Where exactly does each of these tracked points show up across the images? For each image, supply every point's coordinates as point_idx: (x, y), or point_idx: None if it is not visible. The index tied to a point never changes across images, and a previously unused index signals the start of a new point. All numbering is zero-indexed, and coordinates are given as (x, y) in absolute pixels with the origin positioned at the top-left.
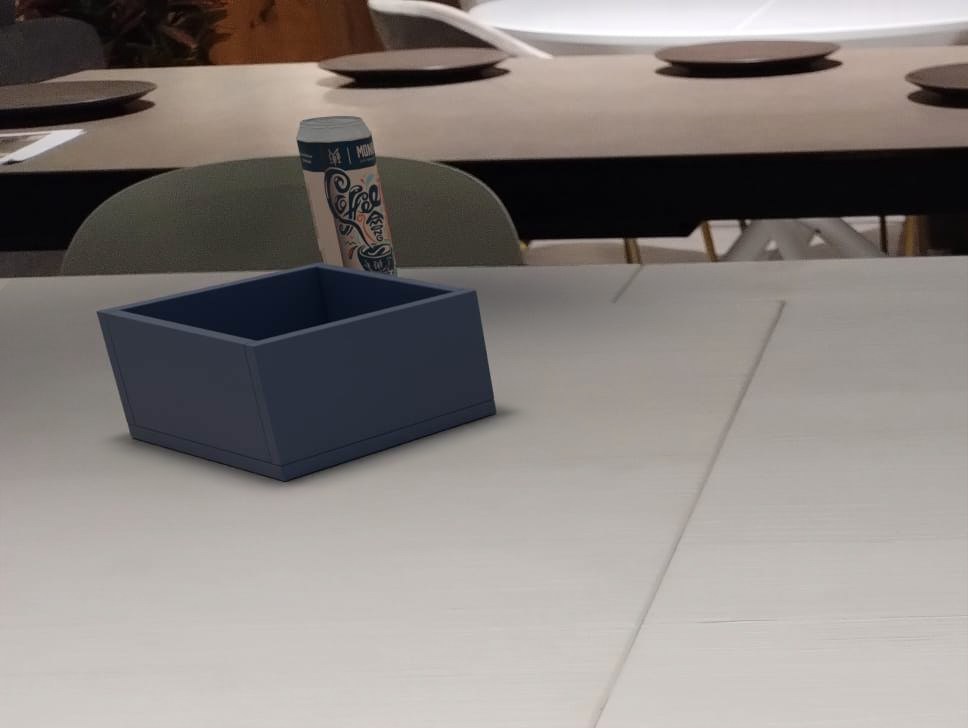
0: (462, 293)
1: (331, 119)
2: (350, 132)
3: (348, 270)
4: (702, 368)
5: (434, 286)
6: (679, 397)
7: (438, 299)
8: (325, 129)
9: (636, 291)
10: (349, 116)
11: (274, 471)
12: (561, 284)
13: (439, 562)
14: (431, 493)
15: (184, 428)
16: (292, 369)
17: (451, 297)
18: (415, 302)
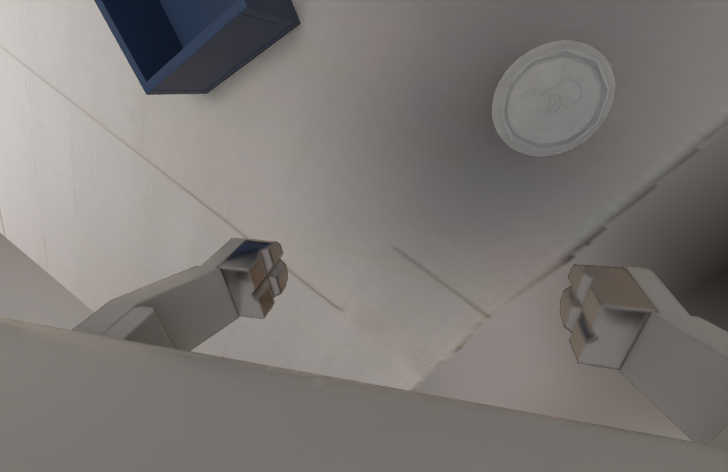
0: (141, 84)
1: (585, 111)
2: (497, 118)
3: (214, 25)
4: (243, 211)
5: (158, 73)
6: (206, 179)
7: (130, 65)
8: (507, 82)
9: (414, 272)
10: (574, 140)
11: None
12: (471, 249)
13: (57, 12)
14: None
15: None
16: None
17: (136, 75)
18: (127, 50)
